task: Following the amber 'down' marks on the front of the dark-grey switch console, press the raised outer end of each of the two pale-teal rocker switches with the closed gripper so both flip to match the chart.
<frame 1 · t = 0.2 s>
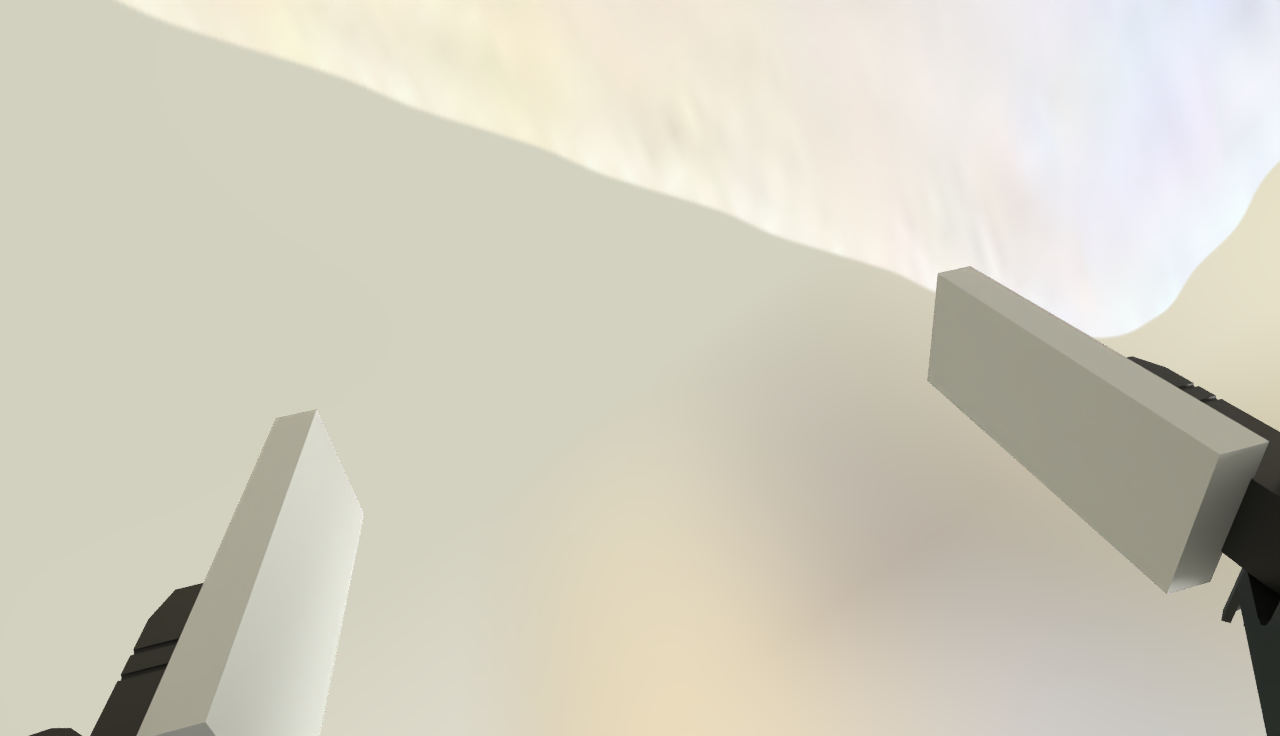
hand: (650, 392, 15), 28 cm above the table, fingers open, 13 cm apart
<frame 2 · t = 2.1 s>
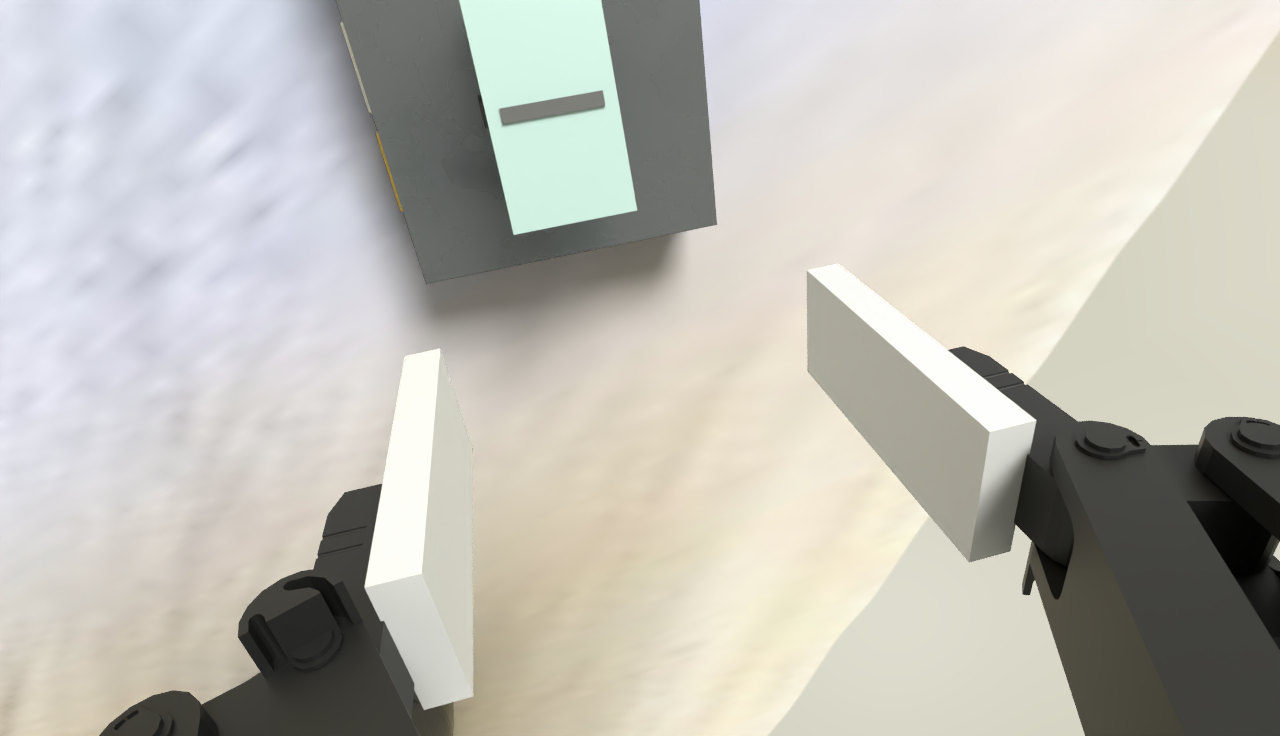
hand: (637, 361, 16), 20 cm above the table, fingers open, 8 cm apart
switch a: (551, 108, 25), point 8 cm above the table, hinge at -12.0°
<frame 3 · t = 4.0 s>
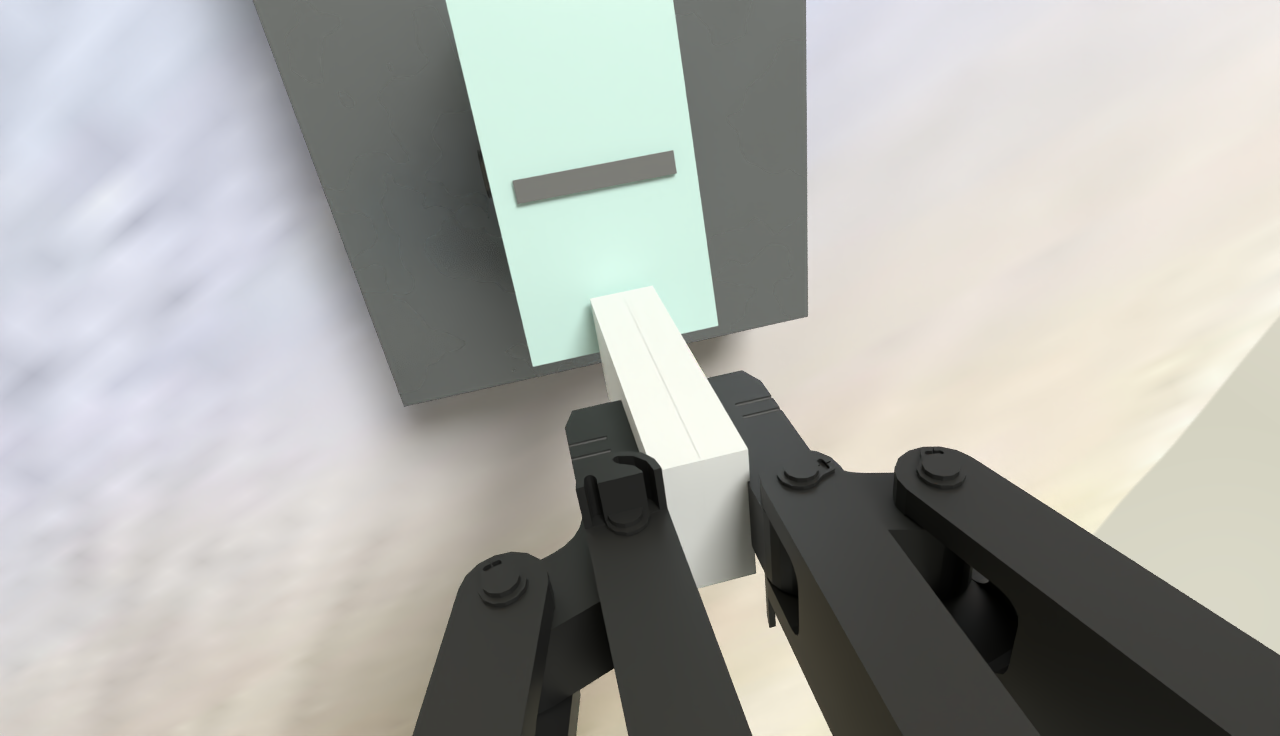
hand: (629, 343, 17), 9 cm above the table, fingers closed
switch a: (590, 174, 16), point 8 cm above the table, hinge at -11.6°, touching gripper
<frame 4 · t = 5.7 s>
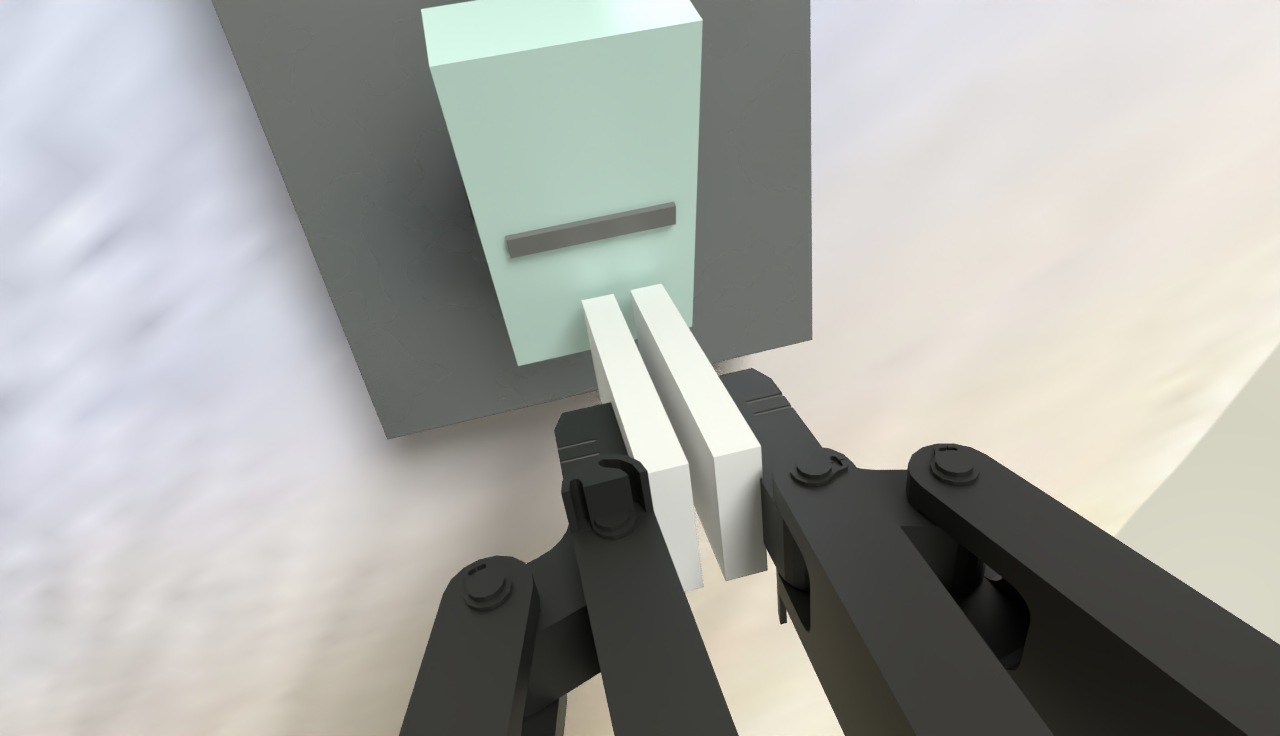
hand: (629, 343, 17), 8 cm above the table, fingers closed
switch a: (583, 200, 15), point 8 cm above the table, hinge at 22.5°
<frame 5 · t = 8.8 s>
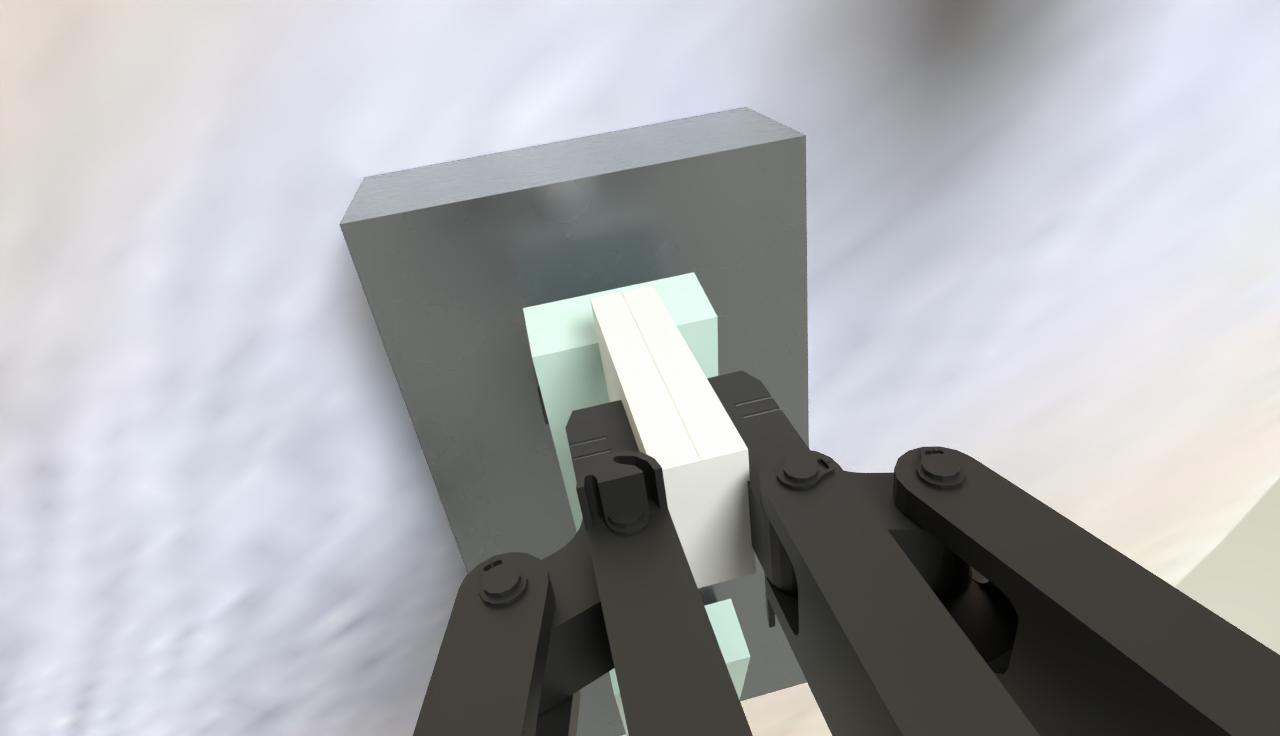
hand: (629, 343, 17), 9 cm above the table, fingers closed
console: (616, 439, 30), on the table
switch a: (676, 679, 26), point 8 cm above the table, hinge at 20.9°
switch b: (632, 422, 20), point 8 cm above the table, hinge at 11.9°, touching gripper
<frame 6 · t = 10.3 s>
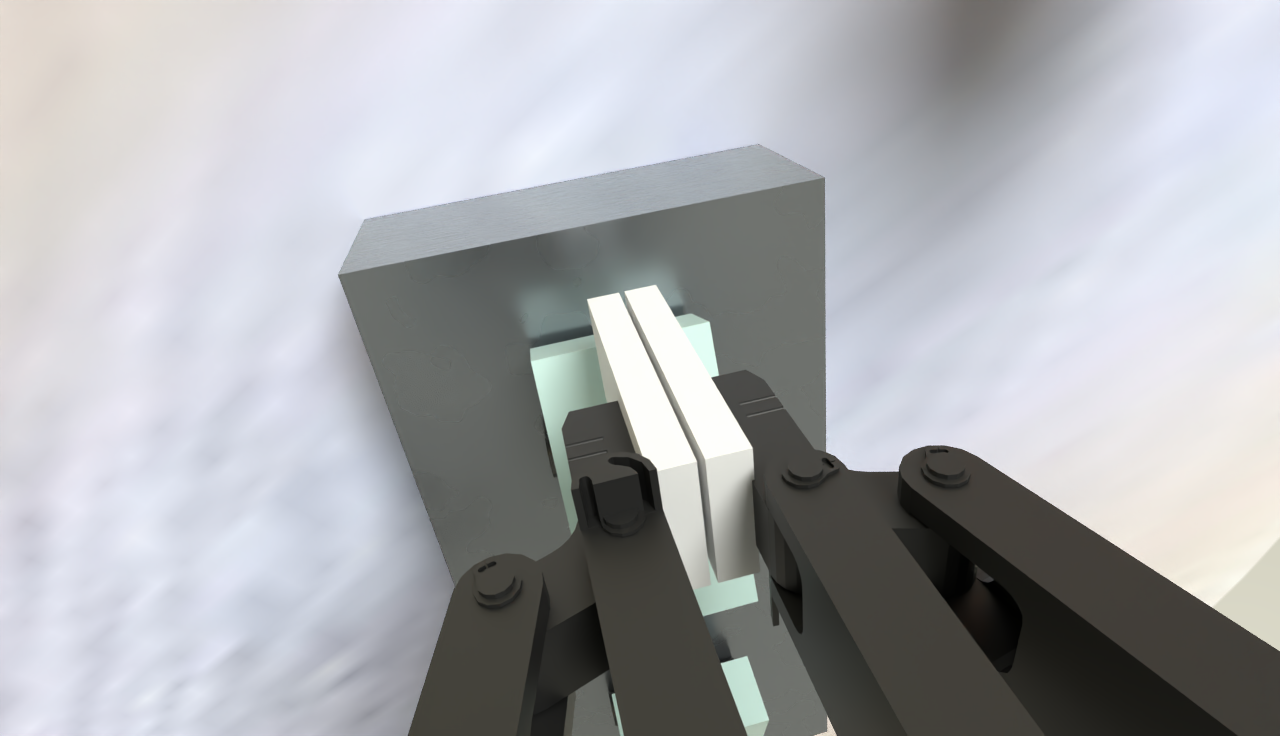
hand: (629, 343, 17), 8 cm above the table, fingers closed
console: (624, 482, 29), on the table
switch b: (645, 476, 19), point 8 cm above the table, hinge at -17.2°, touching gripper
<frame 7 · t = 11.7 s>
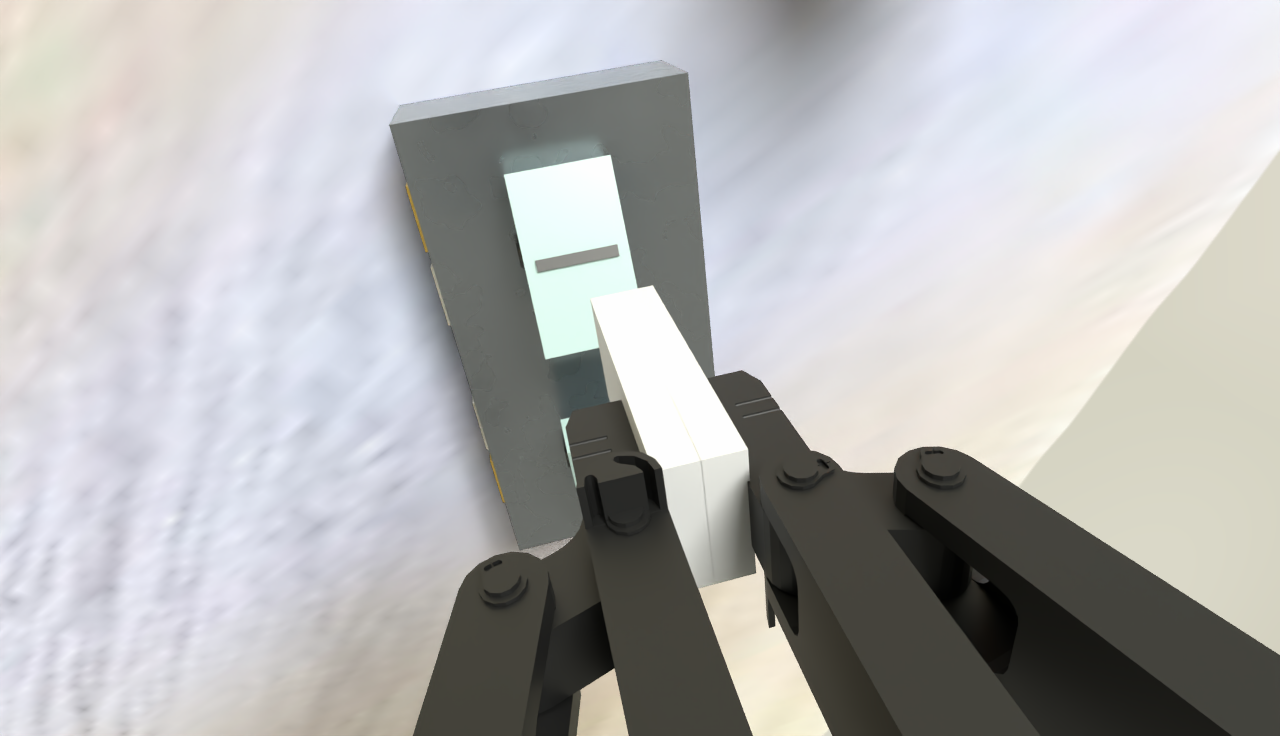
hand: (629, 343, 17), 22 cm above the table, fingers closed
console: (578, 309, 40), on the table
switch a: (616, 468, 37), point 8 cm above the table, hinge at 20.8°
switch b: (576, 258, 31), point 8 cm above the table, hinge at -22.8°
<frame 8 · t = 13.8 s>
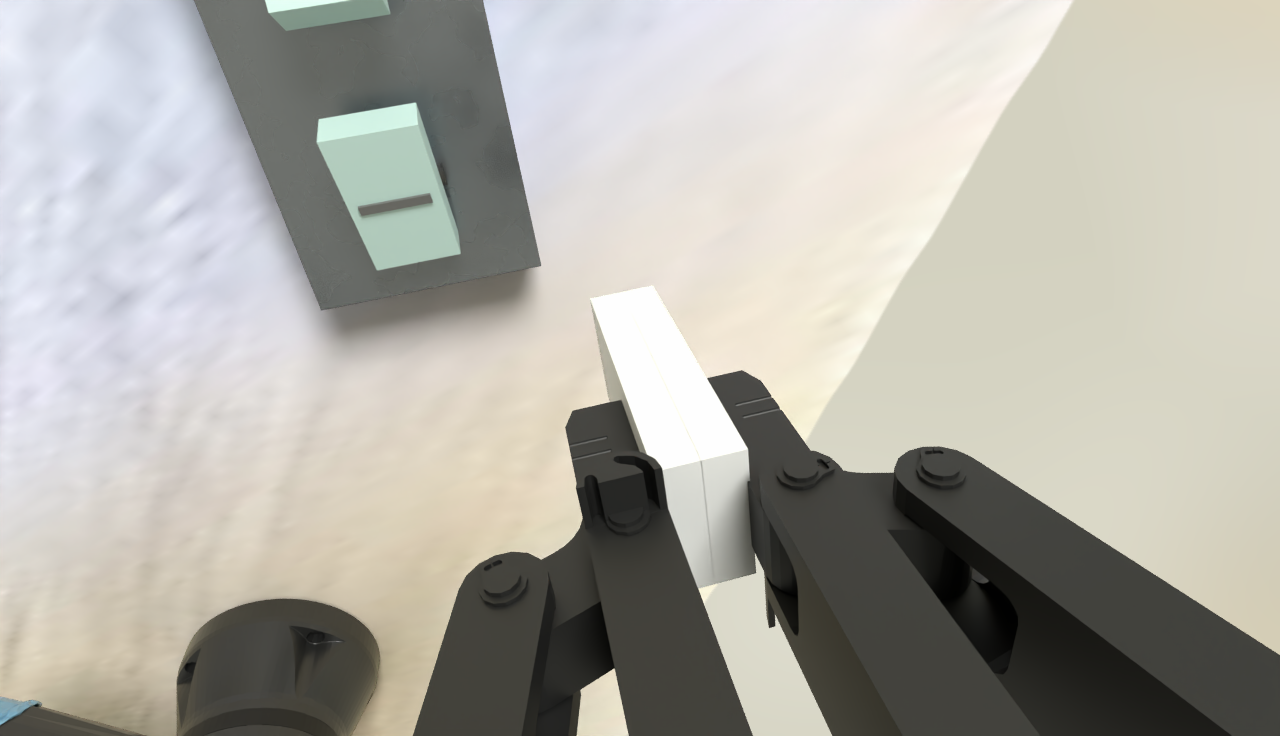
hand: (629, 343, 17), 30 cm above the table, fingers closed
console: (374, 51, 39), on the table
switch a: (395, 192, 36), point 8 cm above the table, hinge at 20.8°
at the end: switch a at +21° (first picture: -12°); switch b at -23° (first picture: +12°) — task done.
